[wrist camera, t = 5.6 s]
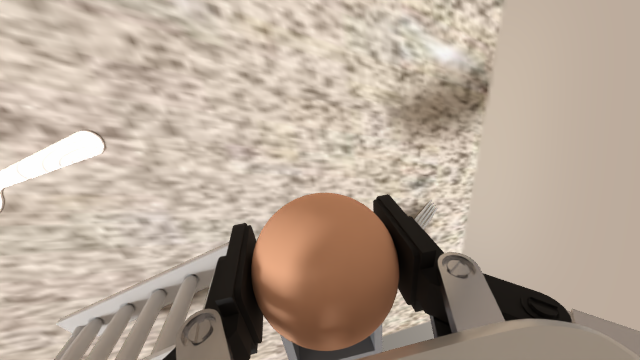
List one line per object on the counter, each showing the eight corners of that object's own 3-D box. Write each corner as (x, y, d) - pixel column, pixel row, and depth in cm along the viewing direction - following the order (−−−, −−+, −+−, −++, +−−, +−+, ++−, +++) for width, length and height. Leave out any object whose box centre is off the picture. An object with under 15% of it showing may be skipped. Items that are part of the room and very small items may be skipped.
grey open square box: (275, 241, 29) (274, 318, 20) (351, 225, 30) (382, 293, 21) (289, 292, 33) (294, 375, 24) (354, 278, 34) (382, 352, 25)
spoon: (125, 162, 22) (122, 164, 22) (-44, 233, 23) (-51, 236, 22) (79, 108, 20) (74, 109, 20) (-110, 189, 20) (-120, 191, 20)
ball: (242, 183, 11) (213, 297, 6) (366, 160, 12) (444, 244, 6) (270, 272, 14) (268, 404, 8) (368, 250, 14) (424, 360, 9)
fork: (307, 268, 36) (307, 285, 33) (432, 193, 30) (443, 206, 28) (318, 277, 37) (320, 293, 34) (440, 206, 31) (452, 220, 29)
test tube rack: (242, 235, 28) (217, 357, 16) (260, 259, 30) (250, 383, 18) (60, 317, 29) (-86, 489, 17) (90, 335, 31) (-23, 499, 19)
